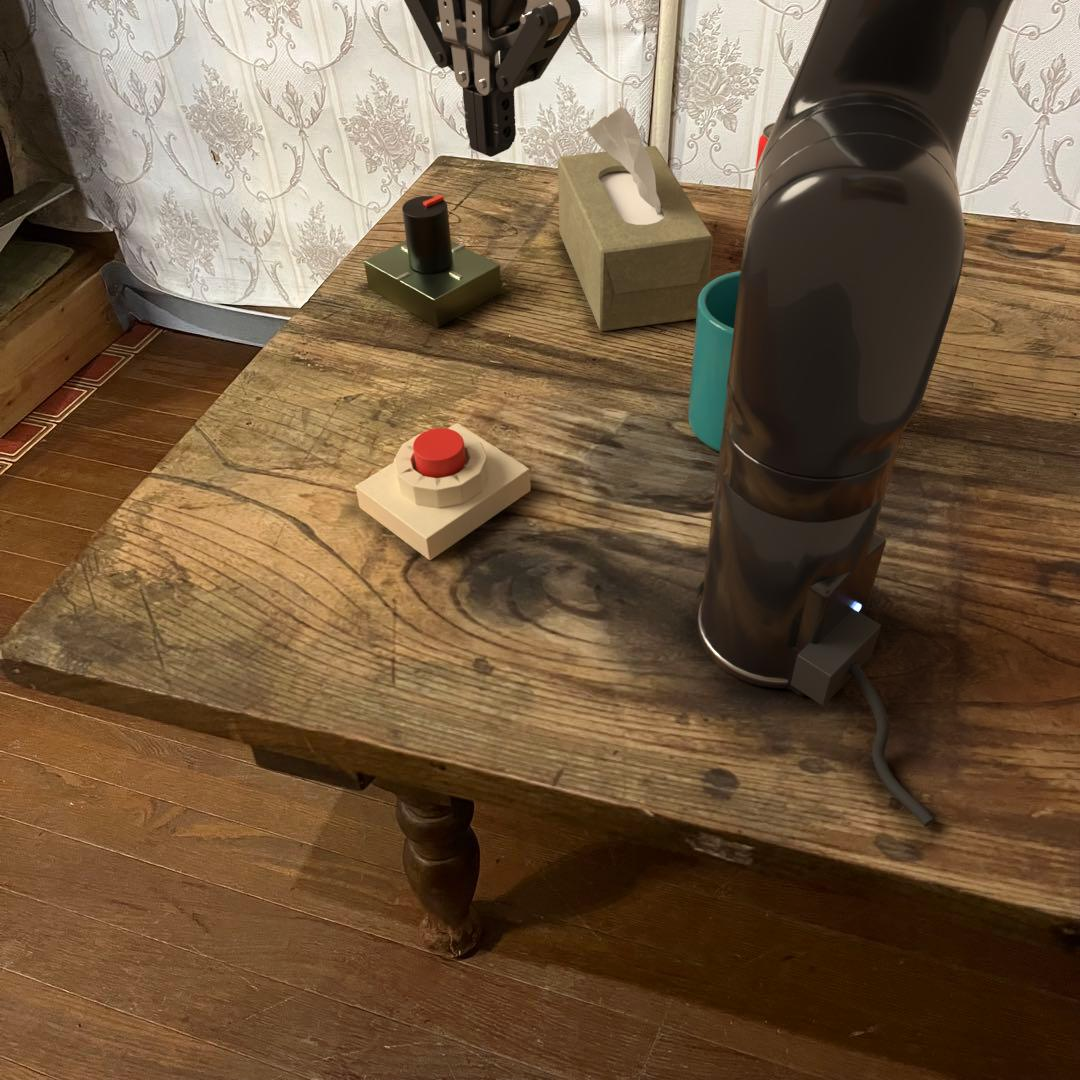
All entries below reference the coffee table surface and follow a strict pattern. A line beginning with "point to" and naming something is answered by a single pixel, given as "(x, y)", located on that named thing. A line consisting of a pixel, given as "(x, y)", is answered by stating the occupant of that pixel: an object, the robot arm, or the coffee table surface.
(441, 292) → the control panel
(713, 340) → the cup
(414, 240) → the dial
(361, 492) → the switch box
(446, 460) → the power button
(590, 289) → the tissue box
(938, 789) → the coffee table surface
